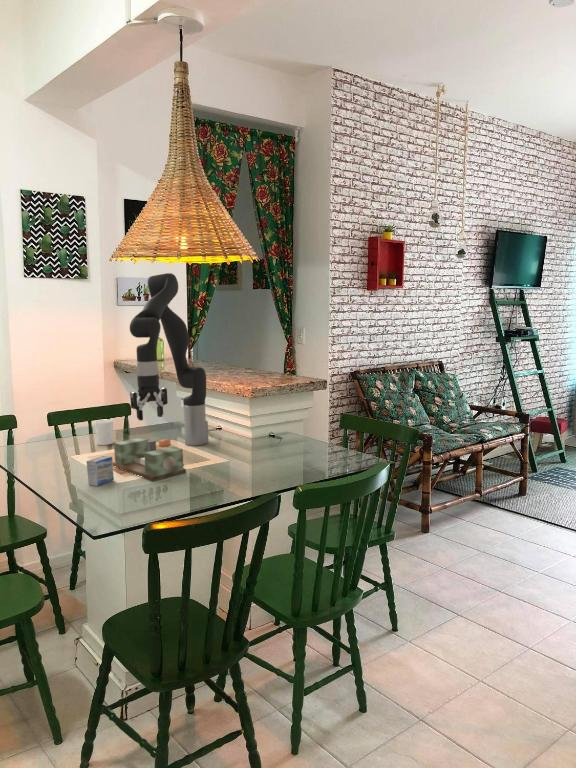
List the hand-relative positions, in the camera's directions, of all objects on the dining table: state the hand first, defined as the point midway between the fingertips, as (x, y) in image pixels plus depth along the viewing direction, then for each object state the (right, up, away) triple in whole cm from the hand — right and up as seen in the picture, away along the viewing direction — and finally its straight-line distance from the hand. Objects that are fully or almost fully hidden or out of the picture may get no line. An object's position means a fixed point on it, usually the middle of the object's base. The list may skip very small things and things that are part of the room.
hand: (150, 418), depth 230 cm
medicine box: (-15, -22, -10) cm, 28 cm away
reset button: (+6, -9, -5) cm, 13 cm away
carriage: (+1, -18, +2) cm, 18 cm away
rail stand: (-2, -19, +5) cm, 20 cm away
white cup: (-30, -14, +48) cm, 58 cm away
